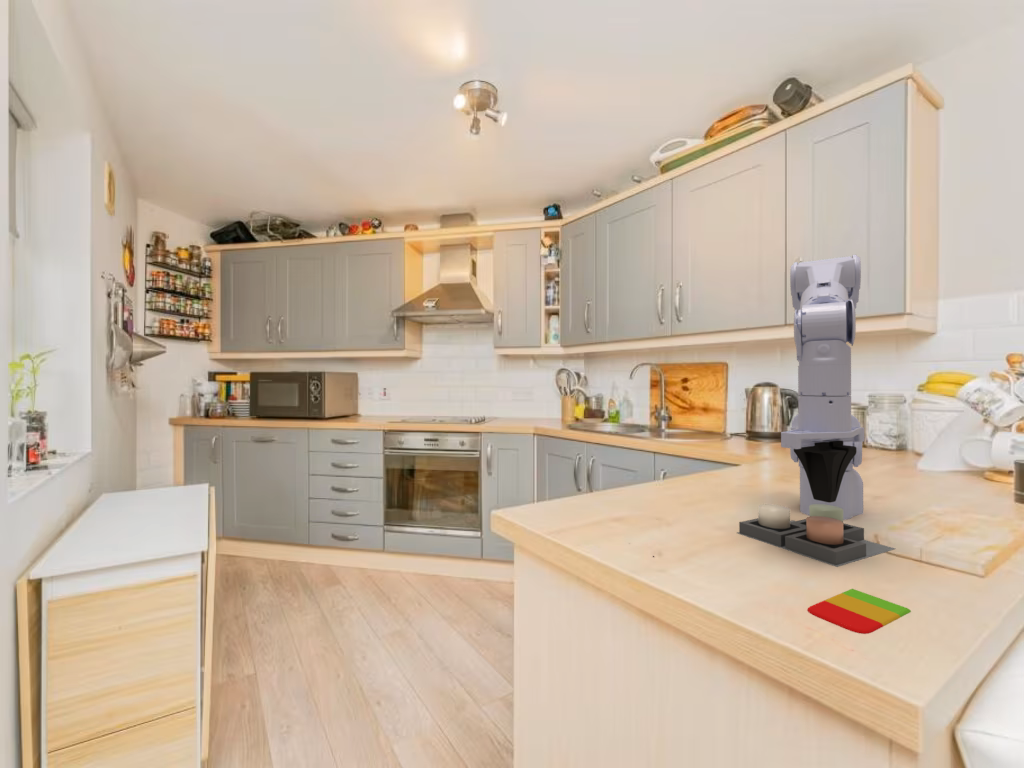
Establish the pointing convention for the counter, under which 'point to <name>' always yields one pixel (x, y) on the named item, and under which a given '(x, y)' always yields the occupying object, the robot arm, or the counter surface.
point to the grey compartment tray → (800, 544)
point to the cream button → (774, 516)
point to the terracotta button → (824, 530)
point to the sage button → (826, 511)
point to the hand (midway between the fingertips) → (824, 500)
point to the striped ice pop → (858, 611)
